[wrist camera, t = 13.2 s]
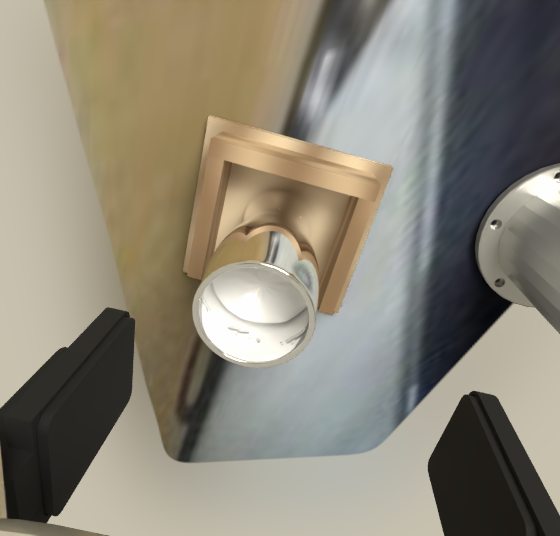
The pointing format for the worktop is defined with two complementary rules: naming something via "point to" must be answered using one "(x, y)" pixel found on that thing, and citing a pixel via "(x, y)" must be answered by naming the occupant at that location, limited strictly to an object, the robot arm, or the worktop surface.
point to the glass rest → (291, 177)
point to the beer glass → (261, 285)
